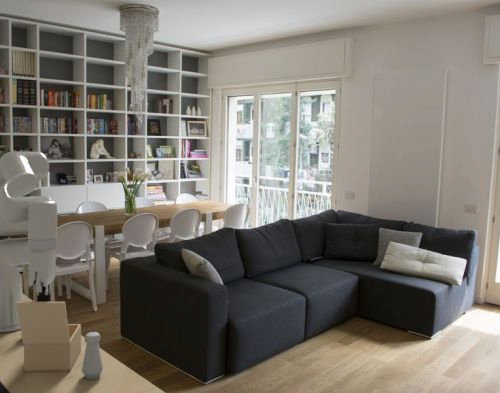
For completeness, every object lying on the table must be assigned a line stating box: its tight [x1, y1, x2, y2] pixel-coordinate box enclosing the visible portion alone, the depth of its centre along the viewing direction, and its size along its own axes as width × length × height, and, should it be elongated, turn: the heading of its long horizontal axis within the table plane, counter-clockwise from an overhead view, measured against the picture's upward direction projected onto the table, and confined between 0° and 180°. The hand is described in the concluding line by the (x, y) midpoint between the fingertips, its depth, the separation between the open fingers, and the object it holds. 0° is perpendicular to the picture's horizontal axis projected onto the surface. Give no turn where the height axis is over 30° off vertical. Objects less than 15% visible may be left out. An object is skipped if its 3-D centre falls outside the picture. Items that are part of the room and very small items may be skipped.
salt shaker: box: [81, 331, 104, 381], centre depth 141 cm, size 6×6×13 cm
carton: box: [23, 323, 82, 373], centre depth 150 cm, size 14×13×9 cm
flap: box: [16, 301, 70, 345], centre depth 139 cm, size 15×13×1 cm
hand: (44, 307), depth 138 cm, fingers closed
